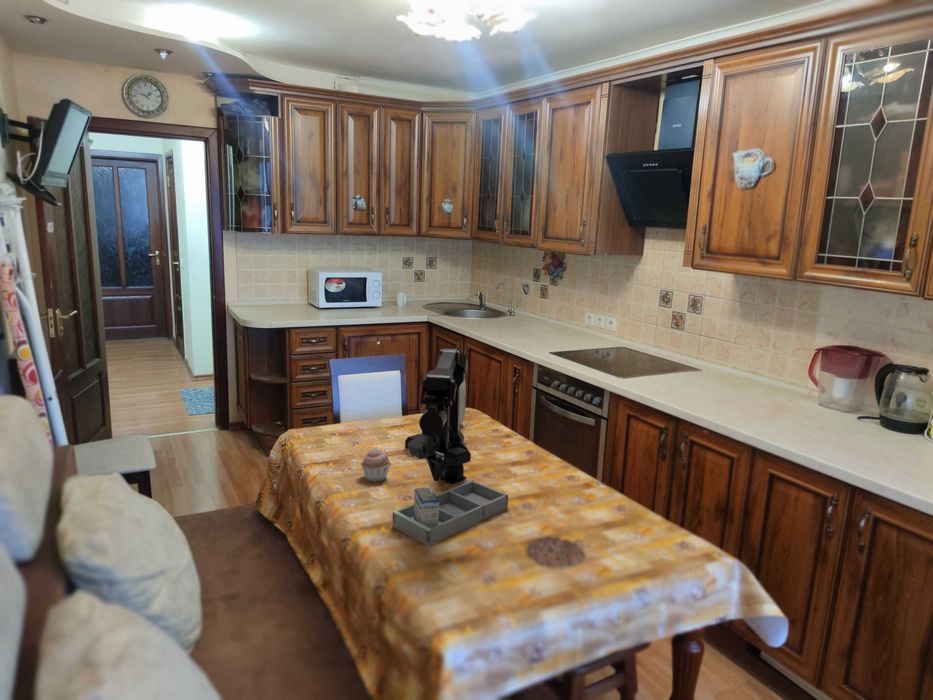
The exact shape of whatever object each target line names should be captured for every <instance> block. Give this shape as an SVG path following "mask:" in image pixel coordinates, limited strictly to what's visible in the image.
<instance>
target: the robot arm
mask: <svg viewBox="0 0 933 700" xmlns="http://www.w3.org/2000/svg"><path fill="white" fill-rule="evenodd" d="M436 363H437V364H436V366H435V368H434V369H431V370H429V371H428V373H427V374H426V376H425V377H424V378H423V380H422V385H421V386H422V387H421V393H420V400H419V401H420V403H419V404H420V405H425V406H426V407H425V410H424V412H423V413H422V415H421V416H420V418H419V422H418V425H419V428H420V430H421V433H417V434H414V435H410V436H408V437H406V439H405V441H404V448H405V449H408V451H409V453H410V456H412V457H416V458H417V459H419V460H423V459H425V461H426V462H427V464H428V467H429V470H430V473H431V477H432V479H433V481H434V482H435V483H436V482H439V481H440V480H441V481H444V482H446V483H448V484H450V485H453V484H456V483H458V482H461V481H463V480H466V479H467V476H466V475H464V471H465V468H464V467H465V466H464V464H467V463H470V462H471V461H472V460H471V458H472V457H471V456H472V455H471V452H470V451H469V448H468V447H467V444H466V443H465V436H464V433H463V432H462V431H461V429H460V425H459V417H460V385H461V384H462V382H463V381H464V378H466V375H467V374H468V369H469V362H468V357H467V356H465V355H464V354H463V353H461V352H460V350H459V349H457V348H442V349H440V353H439V354H438V355H437V362H436Z"/></svg>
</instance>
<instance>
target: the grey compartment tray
mask: <svg viewBox="0 0 933 700" xmlns="http://www.w3.org/2000/svg"><path fill="white" fill-rule="evenodd" d="M435 495H436V497H437V498H438V500H439V515H438V525H436V526H434V527H432V528H429V527H427V526H425V525H423V524H421V523H419V522H417V521H415V520H414V503H412V504H410V505H407V506H405V507H402V508H400V509H398V510H396V509H395V510H393V511H392V527H393V528H394V529H397V530H398V531H400V532H402V533H404V534H405V535H407V536H409V537H411V538H413V539H415V540H417V541H419V543H422V544H424V545H425V546H428V547H430V546H432V545H434V544H436V543H438V542H441V541H442V540H445V539H446V538H449V537H450V536H451V537H452V535H453V536H454V534H457V533H460V532H461V531H463V530H465V529H468V528H469V527H471V526H473V525H476V524H478V523H479V522H480V523H481V522H482V521H484V520H486V519H488V518H490V517H492V516H494V515H496V514H498V513H500V512H503V511H505V510H507V509H508V507H509V505H508V504H509V495H508V494H507V493H504V492H502V491H499V490H497V489H495V488H492V487H490V486H487V485H485V484H483V483H480V482H478V481H475V480H470V481H467V482H465V483H462V484H459V485H457V486H454V487H451V488H450V489H447V490H445V491H442V492H440V493H438V494H435Z"/></svg>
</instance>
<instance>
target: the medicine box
mask: <svg viewBox="0 0 933 700" xmlns="http://www.w3.org/2000/svg"><path fill="white" fill-rule="evenodd" d="M436 495H437V494H435V492H434V491H433V490H432V488H431V487H430V486H429V487H428V486H426V487H418V488H417V487H416V488H415V489H414V496H413V497H414V499H413V504H414V520H415V521H417V522H419V523H421V524H423V525H425V526H427V527H429V528H432V527H434V526H436V525H438V515H439V500H438V498H437V497H436Z"/></svg>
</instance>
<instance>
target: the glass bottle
mask: <svg viewBox="0 0 933 700" xmlns="http://www.w3.org/2000/svg"><path fill="white" fill-rule="evenodd" d="M465 378H466V377H465ZM465 378H464V381H463V382H462V384H461V385H460V417H459V426H460V425H462V424H463V422H464V420H465V415H466V398H467V384H466V379H465Z"/></svg>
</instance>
